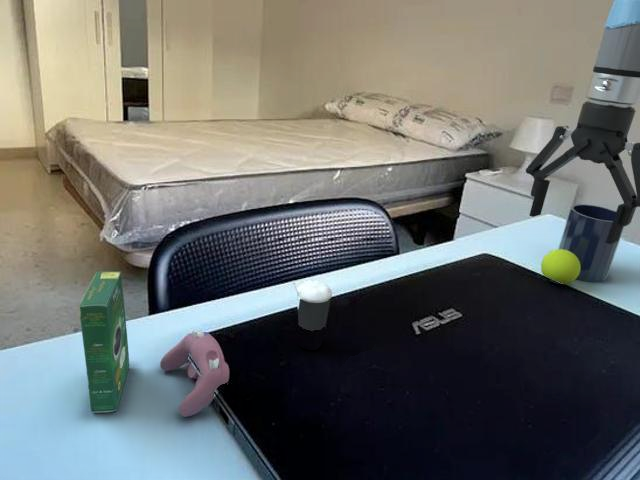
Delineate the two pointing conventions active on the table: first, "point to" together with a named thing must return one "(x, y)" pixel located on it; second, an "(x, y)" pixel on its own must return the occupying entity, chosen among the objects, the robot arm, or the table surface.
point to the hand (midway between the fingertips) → (570, 228)
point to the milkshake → (313, 304)
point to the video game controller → (209, 365)
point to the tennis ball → (561, 266)
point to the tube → (590, 240)
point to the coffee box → (105, 340)
